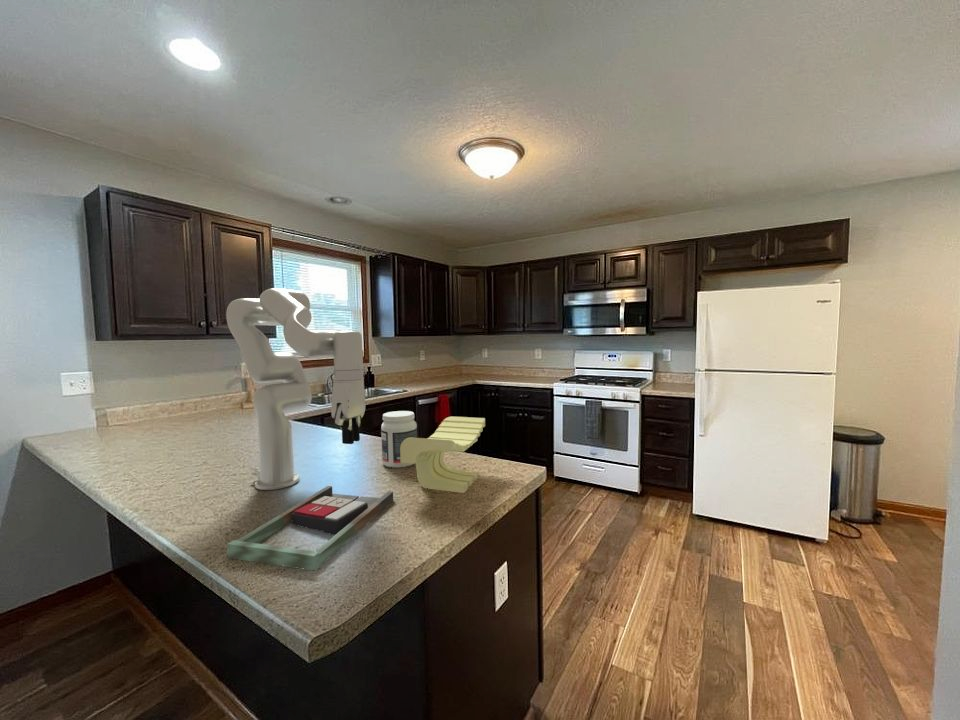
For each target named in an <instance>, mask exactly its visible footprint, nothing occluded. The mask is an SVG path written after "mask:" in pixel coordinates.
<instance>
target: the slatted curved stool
mask: <svg viewBox="0 0 960 720" xmlns="http://www.w3.org/2000/svg"><path fill="white" fill-rule="evenodd" d="M485 427H486V418H485V417H471V416H470V417H468V416H448V417H445V418H444V419H443V420H442V421H441V422H440V424H439V425H438V427H437V428H436V430H435V431H434V433H432V434H431V435H430V436H429V437H427V438H425V437H417V438H413V437H409V438H406V439H405V440H404V441H403V442H402V443H401V446H400V462H401V463H410V464H413V465H415V469H416V477H417V478H416V479H417V480H418V483H419V484H420V486H421V487H422V488H423V489H427V488H428V489H429V490H436V491H445V492H454V493H460V494H461V493H463V494H464V493H466V491H467V490H468V489H469V488H470V487H471V486H472V485H473V484H474V482H476V481H477V479H478V478H479V476H478V472H474V471H473V472H472V471H466V470H461V469H460V470H459V469H456V468H452V467H450V466H448V465H447V464H446V463H445V461H444V454H445V452H449V453H450V452H454V453H458V452H459V453H465V451H467V450H468V449H469V448H470V447H472V446H473V444H475V443H476V442H478V438H479V437H480V436H481V433H482V432H483V428H485ZM472 483H473V484H472ZM471 484H472V485H471ZM428 489H427V490H428Z"/></svg>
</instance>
